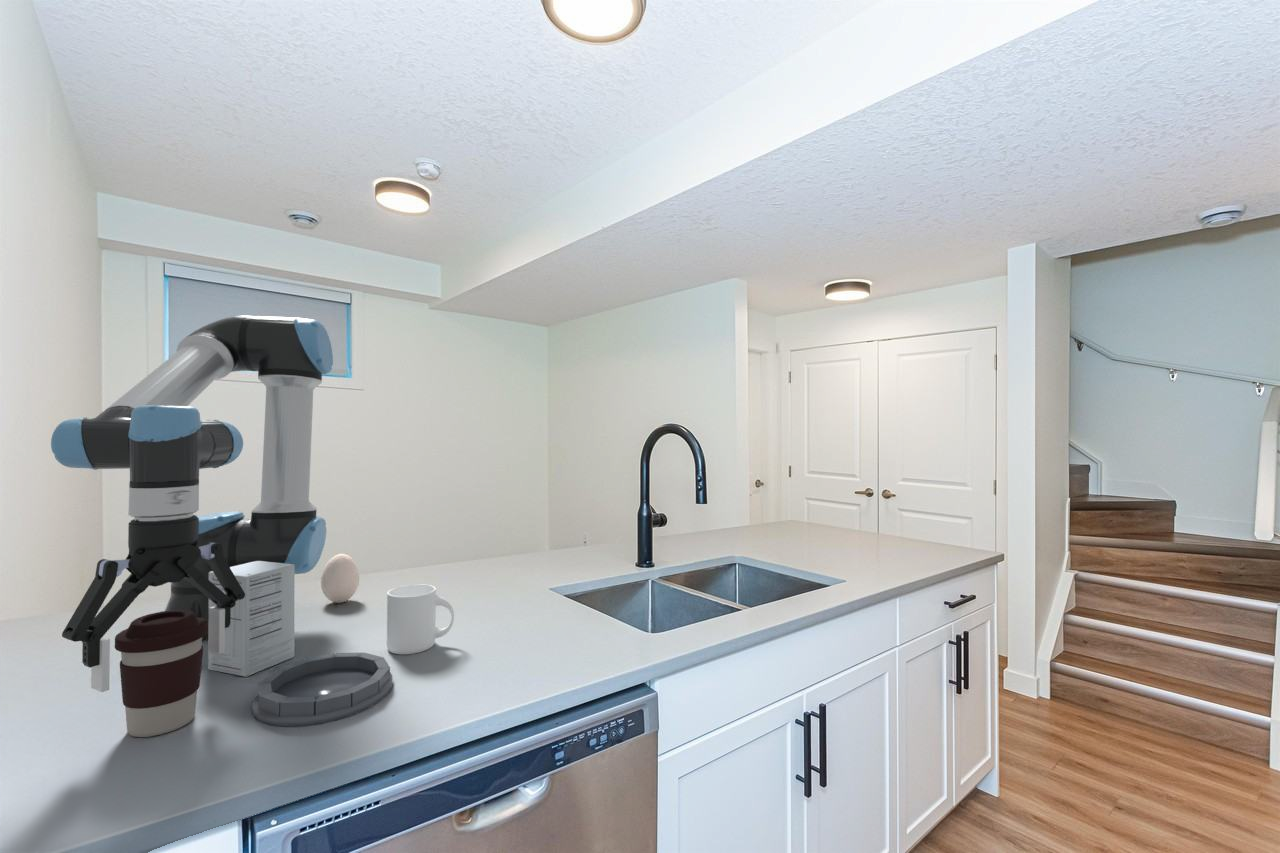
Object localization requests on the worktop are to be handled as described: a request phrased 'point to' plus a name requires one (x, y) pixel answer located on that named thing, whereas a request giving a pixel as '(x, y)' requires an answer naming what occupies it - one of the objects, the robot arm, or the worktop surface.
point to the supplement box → (258, 619)
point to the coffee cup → (161, 670)
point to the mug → (414, 618)
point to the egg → (340, 578)
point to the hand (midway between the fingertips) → (162, 669)
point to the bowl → (322, 689)
